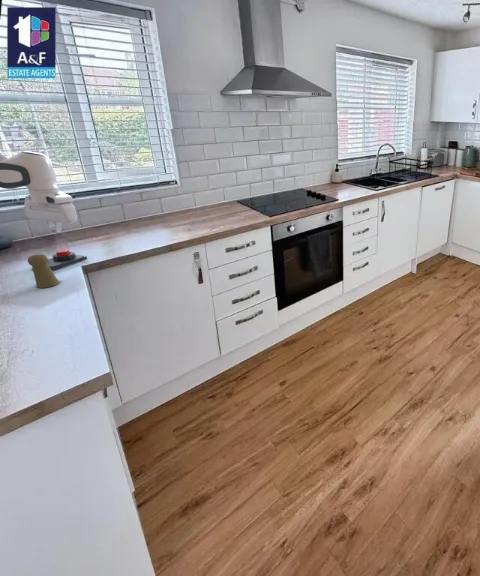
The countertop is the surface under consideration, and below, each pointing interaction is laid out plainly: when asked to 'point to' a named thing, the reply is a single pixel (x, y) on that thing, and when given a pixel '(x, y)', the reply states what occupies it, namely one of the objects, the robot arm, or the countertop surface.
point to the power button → (62, 252)
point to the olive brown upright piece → (42, 271)
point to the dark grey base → (64, 260)
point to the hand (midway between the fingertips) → (56, 232)
